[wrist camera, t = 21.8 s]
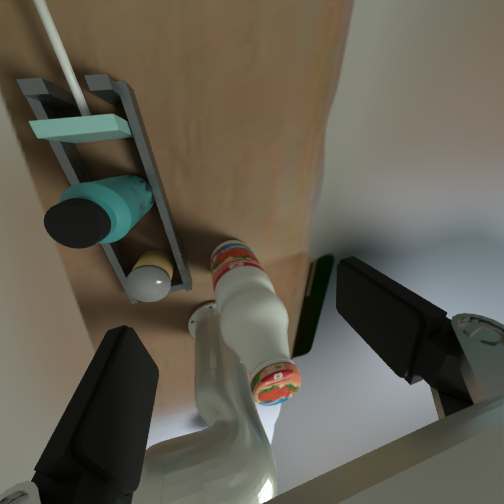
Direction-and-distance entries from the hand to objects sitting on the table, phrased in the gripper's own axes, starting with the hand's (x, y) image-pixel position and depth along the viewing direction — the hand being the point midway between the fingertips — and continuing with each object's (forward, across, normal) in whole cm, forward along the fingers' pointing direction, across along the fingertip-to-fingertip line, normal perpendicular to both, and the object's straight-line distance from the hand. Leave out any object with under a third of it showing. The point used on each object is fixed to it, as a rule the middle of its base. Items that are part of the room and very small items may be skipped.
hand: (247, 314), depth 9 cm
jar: (+32, +14, +10) cm, 36 cm away
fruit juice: (+32, -1, +13) cm, 35 cm away
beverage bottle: (+32, +11, -4) cm, 34 cm away
